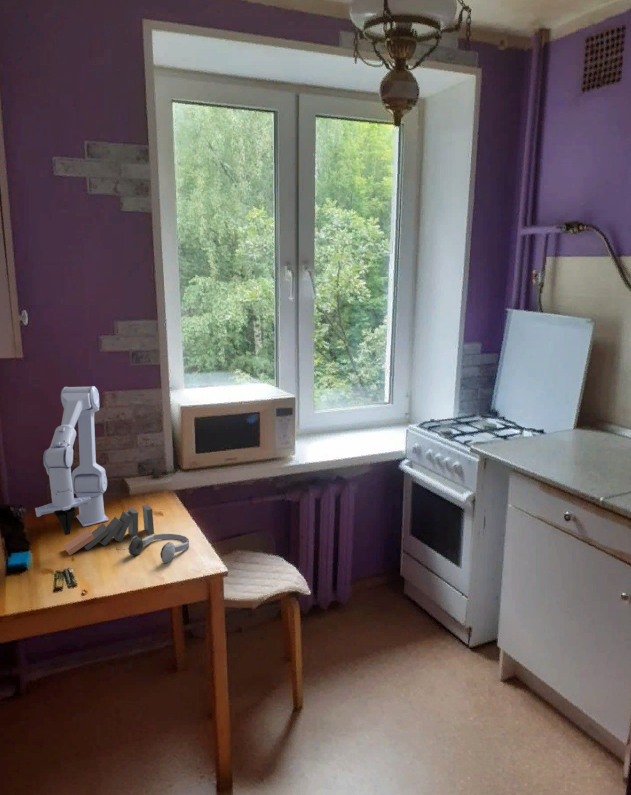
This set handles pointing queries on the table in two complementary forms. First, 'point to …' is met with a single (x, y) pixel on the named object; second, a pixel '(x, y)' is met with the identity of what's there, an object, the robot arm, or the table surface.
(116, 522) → the domino
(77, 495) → the robot arm
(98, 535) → the domino
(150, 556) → the table surface
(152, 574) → the table surface
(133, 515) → the domino
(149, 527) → the domino
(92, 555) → the table surface
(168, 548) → the headphones
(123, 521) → the domino
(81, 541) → the domino
